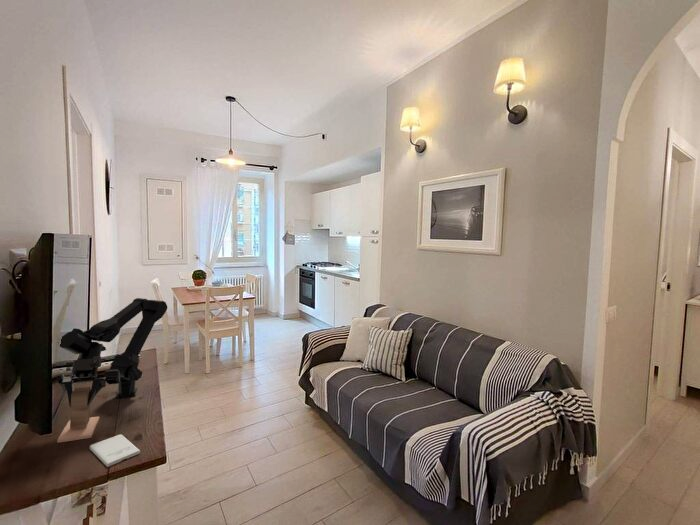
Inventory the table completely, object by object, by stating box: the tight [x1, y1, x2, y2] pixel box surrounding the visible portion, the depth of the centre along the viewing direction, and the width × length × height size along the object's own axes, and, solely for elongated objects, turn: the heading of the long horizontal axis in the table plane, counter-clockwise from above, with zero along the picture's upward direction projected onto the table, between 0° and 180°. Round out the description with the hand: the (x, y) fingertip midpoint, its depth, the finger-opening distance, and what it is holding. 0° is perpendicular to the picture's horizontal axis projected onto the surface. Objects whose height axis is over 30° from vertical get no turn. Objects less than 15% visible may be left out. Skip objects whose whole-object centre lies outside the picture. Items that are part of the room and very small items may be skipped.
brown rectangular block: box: [69, 386, 92, 429], centre depth 107 cm, size 4×4×11 cm
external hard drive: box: [89, 433, 141, 468], centre depth 98 cm, size 2×8×12 cm
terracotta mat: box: [56, 416, 100, 444], centre depth 107 cm, size 12×8×1 cm, turn 26°
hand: (79, 405), depth 105 cm, fingers closed on brown rectangular block, 4 cm apart
